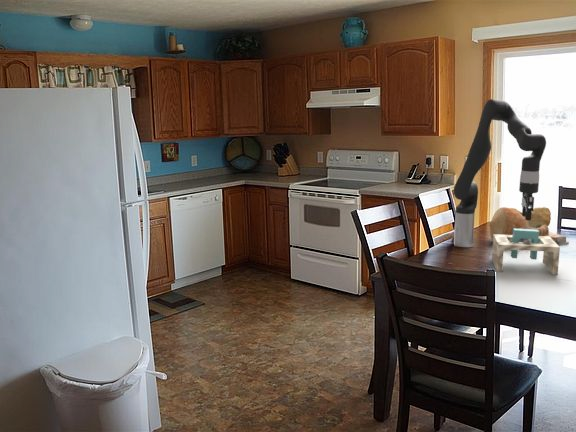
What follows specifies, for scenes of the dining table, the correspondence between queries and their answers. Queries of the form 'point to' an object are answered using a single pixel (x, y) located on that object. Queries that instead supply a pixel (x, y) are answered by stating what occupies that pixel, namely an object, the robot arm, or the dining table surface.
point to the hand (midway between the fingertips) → (526, 218)
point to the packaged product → (558, 239)
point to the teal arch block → (525, 235)
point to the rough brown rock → (538, 217)
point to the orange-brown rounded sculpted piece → (511, 223)
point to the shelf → (545, 245)
